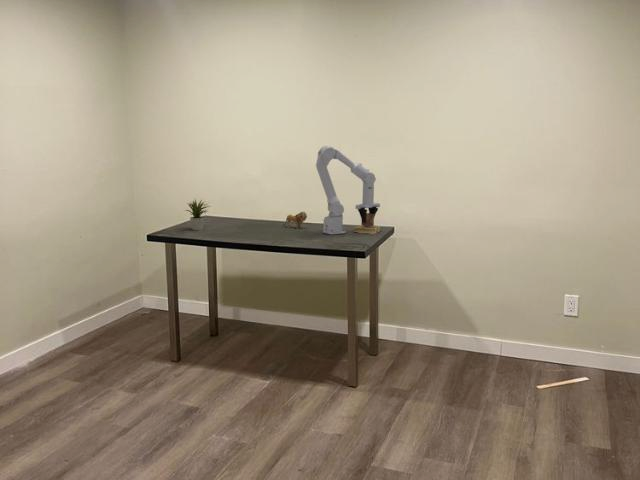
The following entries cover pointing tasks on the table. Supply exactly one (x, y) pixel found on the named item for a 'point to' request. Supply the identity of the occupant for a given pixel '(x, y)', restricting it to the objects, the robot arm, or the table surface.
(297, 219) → the lion figurine
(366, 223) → the walnut block
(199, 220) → the house plant
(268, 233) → the table surface
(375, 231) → the oak plinth
